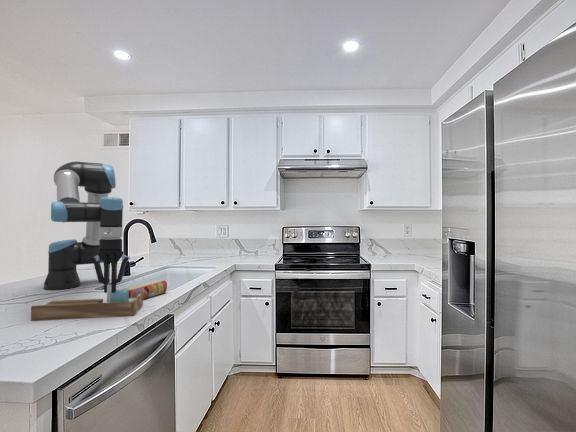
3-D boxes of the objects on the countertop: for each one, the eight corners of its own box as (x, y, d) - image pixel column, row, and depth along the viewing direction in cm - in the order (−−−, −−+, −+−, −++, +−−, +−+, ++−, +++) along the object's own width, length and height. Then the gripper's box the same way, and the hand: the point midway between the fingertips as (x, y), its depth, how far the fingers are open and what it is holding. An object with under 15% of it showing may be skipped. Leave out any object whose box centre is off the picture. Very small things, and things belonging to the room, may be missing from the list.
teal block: (114, 303, 124) (114, 290, 124) (128, 302, 125) (128, 289, 125) (110, 306, 119) (110, 293, 119) (125, 306, 121) (125, 292, 121)
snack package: (129, 305, 133) (130, 288, 133) (118, 303, 136) (118, 287, 136) (167, 293, 153) (167, 279, 153) (157, 292, 156) (157, 278, 156)
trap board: (52, 308, 127) (52, 295, 127) (142, 304, 134) (142, 292, 134) (30, 320, 112) (31, 306, 112) (133, 315, 119) (133, 302, 119)
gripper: (87, 239, 116) (86, 304, 116) (127, 239, 119) (126, 303, 119) (95, 237, 123) (94, 299, 123) (132, 237, 126) (131, 298, 126)
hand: (110, 301), depth 121 cm, fingers closed
